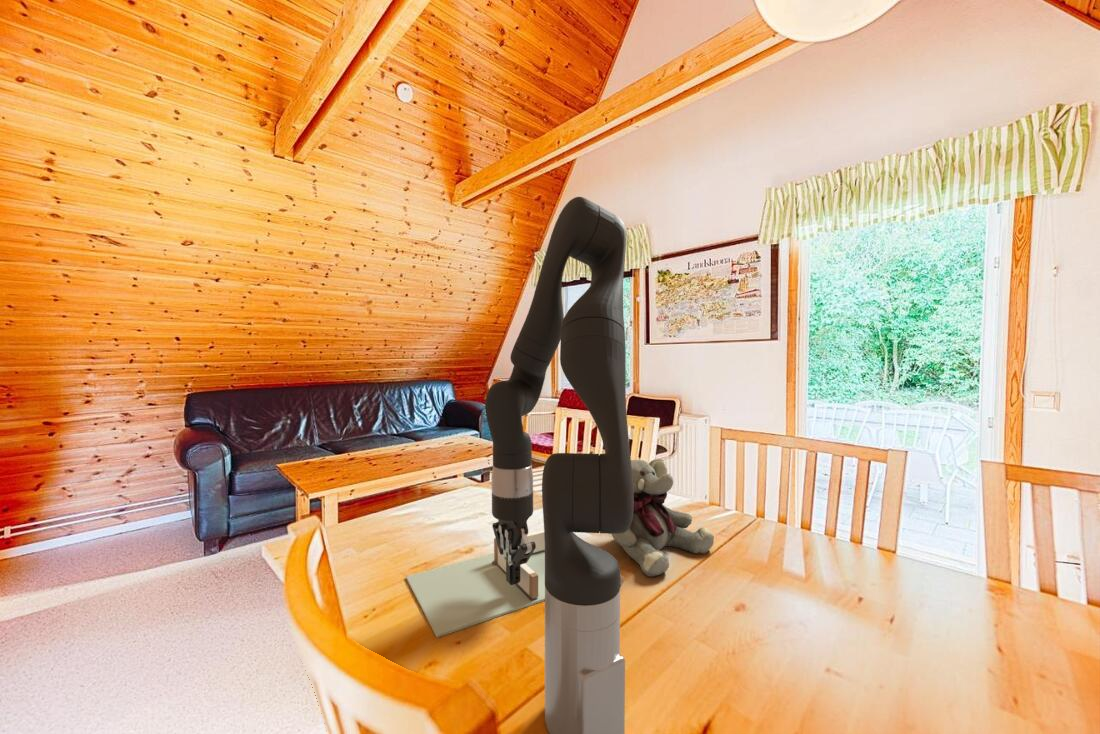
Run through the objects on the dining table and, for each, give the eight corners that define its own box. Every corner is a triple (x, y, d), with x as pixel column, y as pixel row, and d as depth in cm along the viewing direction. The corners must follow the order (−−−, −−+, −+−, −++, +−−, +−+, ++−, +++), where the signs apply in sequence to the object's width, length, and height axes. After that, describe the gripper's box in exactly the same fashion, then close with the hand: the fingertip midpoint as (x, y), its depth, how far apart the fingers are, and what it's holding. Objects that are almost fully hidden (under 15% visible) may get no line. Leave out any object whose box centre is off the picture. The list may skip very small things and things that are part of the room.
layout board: (602, 580, 87) (602, 578, 87) (436, 637, 71) (436, 634, 71) (548, 540, 105) (548, 538, 105) (405, 578, 89) (405, 575, 89)
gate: (497, 564, 93) (497, 545, 92) (503, 562, 93) (502, 543, 93) (532, 598, 80) (532, 577, 80) (538, 596, 81) (538, 575, 80)
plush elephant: (725, 556, 98) (727, 463, 97) (652, 584, 86) (653, 479, 85) (641, 516, 121) (641, 440, 120) (574, 534, 109) (574, 451, 108)
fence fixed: (559, 549, 101) (559, 525, 101) (496, 567, 93) (495, 541, 93) (555, 546, 102) (555, 523, 102) (493, 564, 94) (492, 538, 94)
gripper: (549, 495, 77) (549, 592, 78) (513, 476, 88) (514, 562, 89) (511, 504, 73) (511, 606, 74) (478, 483, 84) (479, 572, 85)
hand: (513, 581), depth 82 cm, fingers closed
